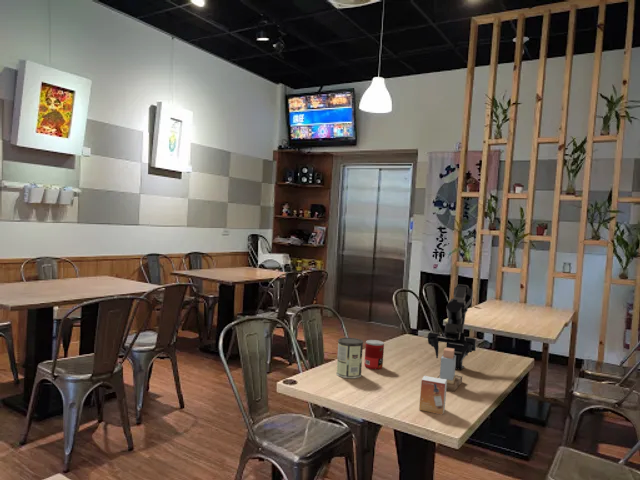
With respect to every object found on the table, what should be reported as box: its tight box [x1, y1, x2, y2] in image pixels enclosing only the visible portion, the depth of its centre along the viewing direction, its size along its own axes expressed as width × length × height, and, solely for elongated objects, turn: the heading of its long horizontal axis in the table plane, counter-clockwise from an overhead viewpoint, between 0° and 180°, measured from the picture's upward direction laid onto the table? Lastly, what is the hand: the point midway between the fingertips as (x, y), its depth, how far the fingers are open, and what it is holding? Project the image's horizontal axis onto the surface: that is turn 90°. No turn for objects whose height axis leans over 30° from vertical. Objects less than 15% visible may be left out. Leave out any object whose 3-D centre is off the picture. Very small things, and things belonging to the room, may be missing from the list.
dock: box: [436, 374, 463, 392], centre depth 189 cm, size 14×8×3 cm, turn 152°
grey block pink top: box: [439, 347, 457, 384], centre depth 187 cm, size 9×6×12 cm, turn 158°
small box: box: [418, 375, 447, 416], centre depth 160 cm, size 8×6×10 cm
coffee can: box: [336, 337, 364, 380], centre depth 194 cm, size 10×10×14 cm
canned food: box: [364, 339, 385, 370], centre depth 207 cm, size 8×8×11 cm
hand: (448, 359), depth 187 cm, fingers open, 9 cm apart
